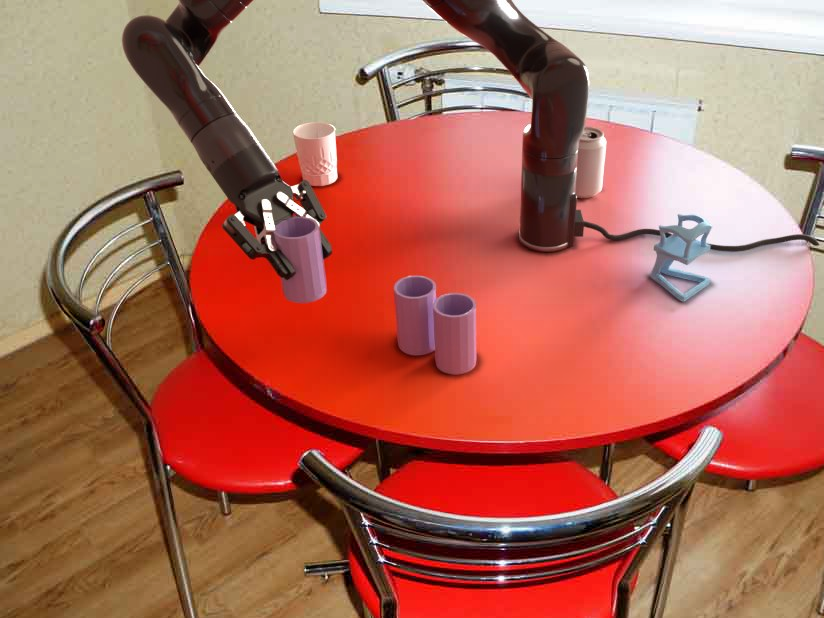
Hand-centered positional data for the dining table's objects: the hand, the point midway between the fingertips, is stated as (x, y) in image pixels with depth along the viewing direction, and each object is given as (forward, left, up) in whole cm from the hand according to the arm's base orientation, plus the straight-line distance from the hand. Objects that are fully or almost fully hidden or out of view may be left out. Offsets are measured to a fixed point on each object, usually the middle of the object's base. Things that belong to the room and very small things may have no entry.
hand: (309, 266), depth 114 cm
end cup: (+1, -1, -5) cm, 5 cm away
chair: (-56, -17, -16) cm, 60 cm away
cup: (-19, +2, -15) cm, 25 cm away
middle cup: (-14, -3, -15) cm, 21 cm away
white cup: (+6, -57, -16) cm, 60 cm away
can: (-45, -50, -16) cm, 69 cm away
